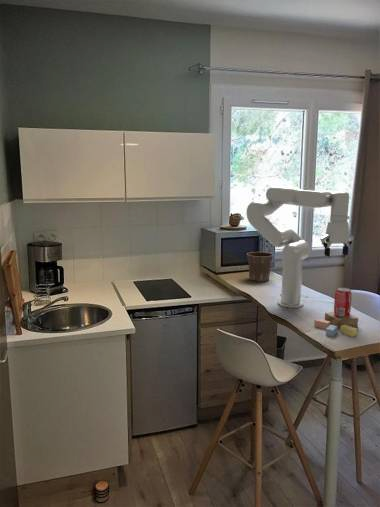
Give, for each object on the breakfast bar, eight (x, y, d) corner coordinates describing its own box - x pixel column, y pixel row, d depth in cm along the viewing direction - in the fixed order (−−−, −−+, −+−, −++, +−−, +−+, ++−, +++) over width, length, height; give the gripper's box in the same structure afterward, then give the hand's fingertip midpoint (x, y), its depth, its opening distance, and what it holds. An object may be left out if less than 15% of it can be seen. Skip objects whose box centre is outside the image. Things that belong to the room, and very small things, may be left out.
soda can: (346, 312, 202) (348, 287, 199) (352, 317, 195) (354, 291, 192) (331, 312, 201) (333, 287, 199) (336, 318, 194) (338, 291, 192)
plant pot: (241, 277, 282) (242, 252, 279) (264, 275, 286) (265, 251, 283) (252, 283, 266) (253, 257, 263) (276, 281, 271) (278, 255, 268)
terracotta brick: (314, 326, 196) (314, 320, 195) (317, 324, 198) (317, 318, 197) (327, 329, 192) (327, 323, 191) (330, 328, 194) (330, 321, 193)
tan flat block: (324, 321, 202) (325, 312, 201) (343, 319, 205) (344, 311, 204) (337, 329, 192) (338, 320, 192) (357, 326, 195) (358, 318, 195)
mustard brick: (340, 332, 189) (340, 325, 188) (344, 331, 191) (345, 324, 190) (351, 337, 184) (352, 330, 183) (356, 335, 186) (357, 328, 185)
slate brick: (332, 337, 184) (333, 330, 183) (325, 335, 185) (326, 328, 185) (337, 332, 189) (337, 326, 188) (329, 331, 190) (330, 324, 190)
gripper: (349, 217, 210) (346, 253, 214) (317, 218, 205) (315, 254, 209) (360, 219, 203) (356, 256, 207) (327, 220, 198) (324, 258, 202)
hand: (336, 255), depth 208 cm, fingers open, 9 cm apart
